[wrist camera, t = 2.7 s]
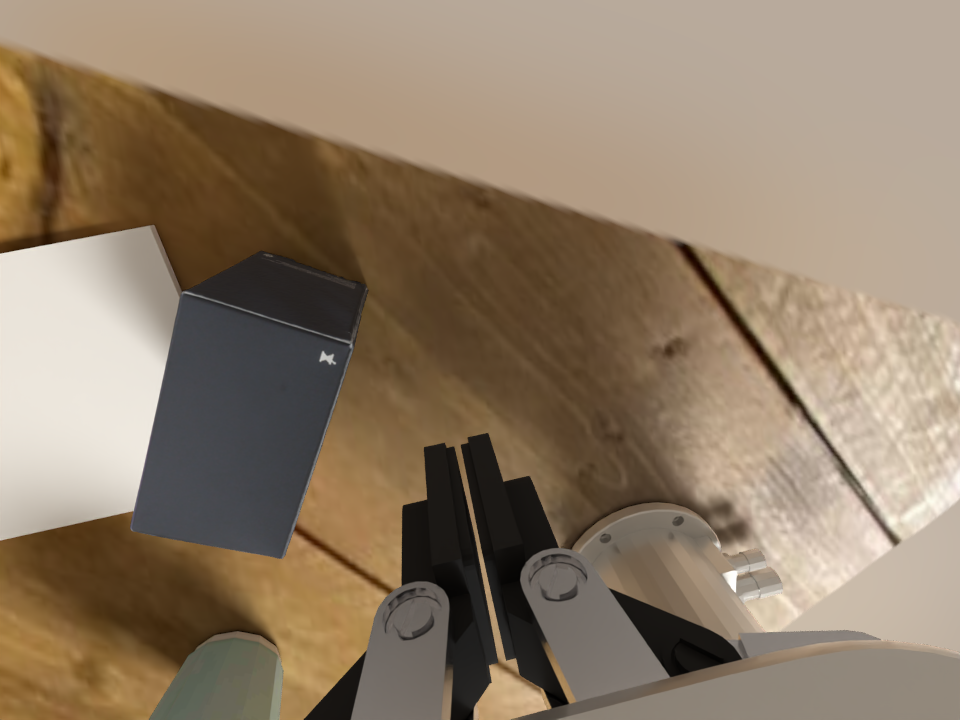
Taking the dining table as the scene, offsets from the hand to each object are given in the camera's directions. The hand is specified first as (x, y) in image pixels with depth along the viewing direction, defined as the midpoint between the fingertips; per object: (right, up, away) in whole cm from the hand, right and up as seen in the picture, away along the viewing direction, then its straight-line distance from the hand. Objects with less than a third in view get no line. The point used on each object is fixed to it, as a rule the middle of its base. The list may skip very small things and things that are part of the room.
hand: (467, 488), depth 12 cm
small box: (-11, +4, +16) cm, 20 cm away
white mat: (-23, +1, +15) cm, 28 cm away
